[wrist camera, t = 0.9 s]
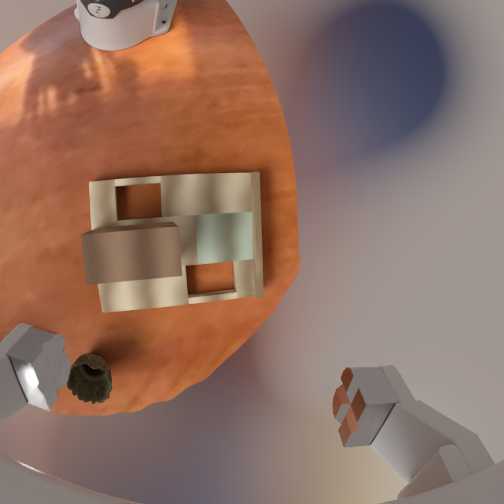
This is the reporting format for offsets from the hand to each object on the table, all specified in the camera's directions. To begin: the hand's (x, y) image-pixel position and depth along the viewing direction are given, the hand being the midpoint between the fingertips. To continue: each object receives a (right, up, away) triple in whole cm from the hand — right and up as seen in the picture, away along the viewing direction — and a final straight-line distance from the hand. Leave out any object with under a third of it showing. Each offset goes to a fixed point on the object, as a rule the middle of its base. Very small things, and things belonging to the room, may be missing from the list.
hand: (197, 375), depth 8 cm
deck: (-10, +5, +40) cm, 42 cm away
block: (-16, +4, +36) cm, 40 cm away
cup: (-26, -15, +39) cm, 49 cm away
